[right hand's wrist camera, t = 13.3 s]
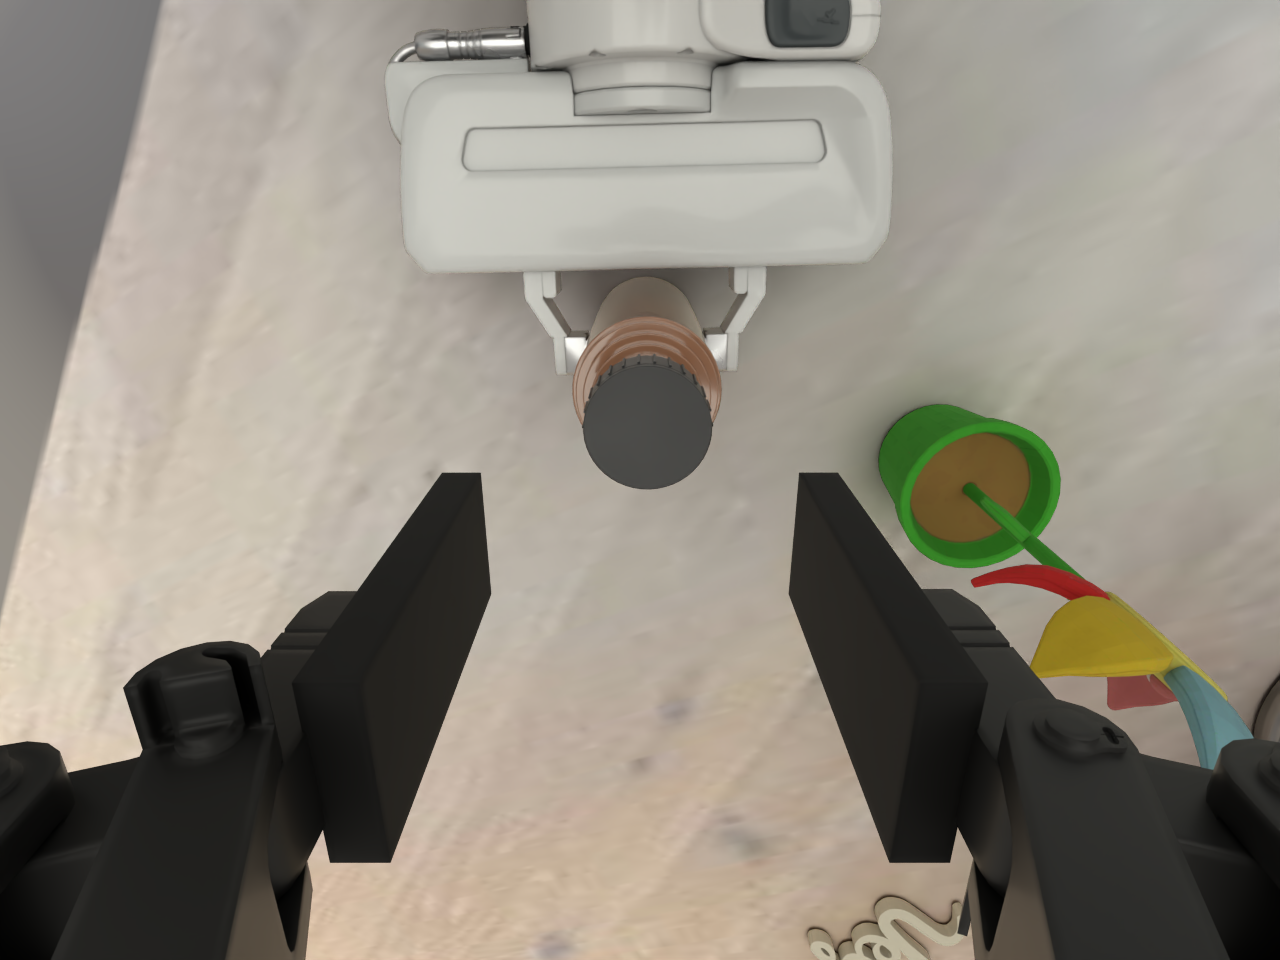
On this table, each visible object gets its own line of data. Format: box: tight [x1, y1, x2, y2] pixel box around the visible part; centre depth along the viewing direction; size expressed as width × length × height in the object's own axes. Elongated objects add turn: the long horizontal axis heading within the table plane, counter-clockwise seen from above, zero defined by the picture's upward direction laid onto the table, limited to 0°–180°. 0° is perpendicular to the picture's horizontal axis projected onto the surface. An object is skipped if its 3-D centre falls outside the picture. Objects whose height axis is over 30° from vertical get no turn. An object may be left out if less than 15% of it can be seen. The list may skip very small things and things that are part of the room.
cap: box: [582, 354, 713, 489], centre depth 22 cm, size 4×4×2 cm
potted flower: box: [879, 404, 1254, 770], centre depth 30 cm, size 9×8×25 cm
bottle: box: [572, 276, 722, 424], centre depth 31 cm, size 5×5×18 cm
